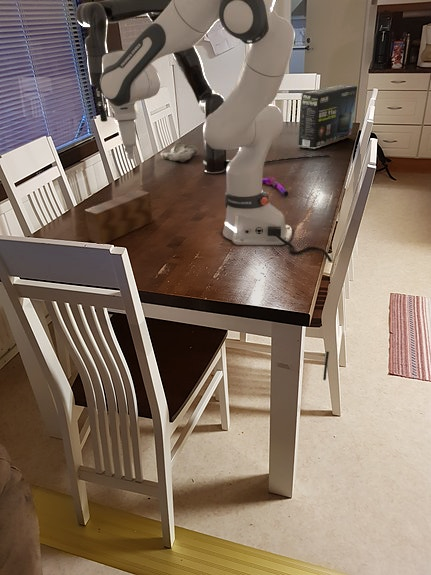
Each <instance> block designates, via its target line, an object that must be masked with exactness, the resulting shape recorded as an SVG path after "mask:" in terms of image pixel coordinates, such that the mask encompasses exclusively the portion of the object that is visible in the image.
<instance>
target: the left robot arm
mask: <svg viewBox="0 0 431 575" xmlns="http://www.w3.org/2000/svg"><path fill="white" fill-rule="evenodd" d="M171 1H172V0H102V1H90V2H83V3H81V4H79V5H78V6H77V8H76V10H75V18H76V21H77V22H78V24H80V25H81V26H82V27H84V28H88V29H89V35H88V36H87V37H85V38H84V46H85V52H86V53H85V54H86V58H87V59H86V60H87V69H88V75H89V76H88V77H89V81H90V85H91V86H92V87H96V90H94V100H95V106H96V110H98V111H99V117H100V118H99V119H100V121H101V122H108V118H110V117H109V112H108V105H107V99H106V98H105V97H104V95H103V94H102V91H101V88H100V79H101V75H102V73H103V70H102V59H103V56H104V55H105V54H106V53H108V46H107V33H108V24H117V23H121V22H125V21H129V20H132V19H135V18H137V17H141V16H143V15H147V17H148V18H149V20H150V21H151V24H152V23H153V22H154V21H155V20H156V19H157V18H158V17H159V15H160V14H161V13H162V12H163V11H164V10H165V8H166V7H167V6H168V5H169V3H170V2H171ZM171 55H172V58H173V60H174V61H175V63H176V65H177V67H178V69H179V71H180V73H182V75H183V77H184V79H185V80H186V82H187V83H188V85H189V87H190V89H191V90H192V92H193V95H194V97H195V100H196V103H197V104H198V106H199V109H200V110H201V112H202V113H204V119H205V120H206V118H207V116H208V115H210V114H211V113H213V112H214V111H215V110H217V109H218V108H219V107H220V106H221V105H222V103H223V102H224V101H225V98H224V97H223V96H222V95H221V94H219V93H217V92H215V91H214V90H213V89H212V87H211V85H210V83H209V82H208V80H207V78H206V76H205V72H204V66H203V62H202V59H201V56H200V55H199V53H198V51H197V49H196V47H195V45H194V46H192V47H191V48H189V49H186V50H183V51H179V52H175V53H172V54H171ZM205 120H204V121H205ZM202 142H203V159H202V163H203V165H204V173H206V174H211V175H217V174H222V173H224V172H226V168H227V165H228V163H229V162H230V161H231V160H232V159H227V150H218V149H213V148H211V147H210V146H209V145H208V144H207V142H206V140H205V138H204V134H203V133H202ZM323 155H324V156H320V155H311V156H312V157H307V156H297V157H298V158H294V157H286V158H287V159H284V158H278V159H279V160H276V159H271V160H272V161H270V160H265V161H266V162H264V164H270V163H274V162H282V161H292V160H304V159H316V158H317V159H318V158H328V157H331V154H323ZM329 155H330V156H329Z"/></svg>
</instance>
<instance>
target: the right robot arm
mask: <svg viewBox="0 0 431 575" xmlns="http://www.w3.org/2000/svg"><path fill="white" fill-rule="evenodd" d="M276 3H277V0H172V1H171V2H170V3H169V5H168V6H167V7H166V8H165V10H164V11H163V12H162V13H161V14H160V15H159V17H158V18H157V19H156V20H155V21H154V22H153V23H152V22H151V24H150V25H148V26H147V27H146V28H145V30H144V31H142V33H141V34H140V35H138V37H137V38H136V39H135V40H134V41H133V42H132V44H131V45H130V46H129V47H128V48H127V49H116V50H111V51H107V53H106V54H105V55H104V56H103V59H102V70H103V73H102V75H101V79H100V88H101V91H102V94H103V95H104V97H105V98H106V99H107V105H108V112H109V117H108V118H112V119H113V122H114V123H115V124H117V130H118V131H117V132H118V135H119V137H120V140H121V142H122V145H123V147H124V152H125V153H126V157H127V159H128V160H134V157H135V156H134V147H135V146H136V145H137V130H136V129H137V128H136V120H137V119H138V117H137V116H138V115H139V111H138V103H137V102H139V101H140V102H141V101H142V100H147V99H151V98H153V97H155V96H156V95H158V93H159V91H160V88H161V78H160V74H159V72H158V70H157V68H156V67H155V66H154V65H153V63H154V62H156V60H159V59H160V58H163V57H165V56H168V55H172V53H175V52H179V51H183V50H186V49H189V48H191V47H192V46H194V47H195V45H196V44H198V43H199V42H201V41H202V40H203V38H204V37H205V36H206V35H207V34H208V32H209V31H210V30H211V29H212V28H213V26H214V25H215V24H216V23H217V22H218V21H220V24H221V27H222V28H223V29H224V30H225V31H226V33H227V34H229V35H230V36H231V37H233V38H235V39H238V40H240V41H241V42H242V43H243V44H246V45H248V46H247V48H246V53H245V56H244V59H243V62H242V66H241V69H240V72H239V74H238V77H237V80H236V83H235V85H234V87H233V88H232V90H231V92H230V93H229V94H228V96H227V97H226V99H224V102H223V103H222V105H221V106H220V107H219V108H218V109H217V110H215V111H214V112H213V113H211V114H210V115H208V116H207V118H206V120H204V122H203V125H202V135H203V134H204V138H205V140H206V142H207V144H208V145H209V146H210V147H211V148H213V149H218V150H226V151H230V150H235V149H238V150H237V152H236V154H235V155H234V157H233V158H232V159H230V160H231V161H230V162H229V163H228V165H227V168H226V170H225V177H226V178H225V179H226V180H225V183H226V190H225V194H224V205H225V209H226V210H225V218H224V219H225V220H224V226H223V229H222V235H223V237H225V239H228V240H230V241H232V243H233V244H234V245H236V246H283V245H286V246H288V247H290V250H289V251H290V253H291V254H293V255H300V254H302V253H304V252H305V251H308V250H315V251H320V252H322V253H323V254H324V256H325V257H326V259H327V260H328V262H330V263H333V260H332V258H331V256H330V255H329V253H328V252H327V250H325V249H324V248H322V247H319V246H312V245H311V246H306V247H303V248H302V249H300V250H295V247H294V245H293V244H292V243H290V240H291V239H292V237H293V228H292V227H291V225H288V224H286V219H285V215H284V213H283V212H282V211H280V210H279V209H278V208H277V207H276V206H275V205H272V204H271V203H270V202H269V194H270V192H269V191H267V192H266V191H265V190H263V183H262V179H263V178H264V177H263V176H264V167H265V163H264V162H265V161H266V159H267V156H268V153H269V152H270V149H271V147H272V145H273V143H274V142H275V140H276V139H277V138H278V137H280V135H281V134H282V132H283V129H284V122H285V121H284V116H283V113H282V111H281V109H280V108H279V107H278V106H277V105H274V104H272V103H273V102H274V100H275V99H276V97H277V96H278V93H279V90H280V87H281V85H282V83H283V80H284V77H285V75H286V72H287V69H288V67H289V63H290V60H291V57H292V53H293V48H294V44H295V43H294V42H295V38H296V33H295V29H294V26H293V25H292V23H291V22H290V21H288V19H286V18H285V17H282V16H279V15H278V14H277V12H276V10H275V9H274V7H275V5H276ZM329 355H330V351H327V350H326V351H325V361H324V368H323V378H322V380H323V381H326V380H327V371H328V362H329Z"/></svg>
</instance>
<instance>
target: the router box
mask: <svg viewBox="0 0 431 575" xmlns="http://www.w3.org/2000/svg"><path fill="white" fill-rule="evenodd" d="M357 93H358V86H356V85H350V84H339V85H338V84H337V85H334V86H328V87H324V88H318V89H314V90H309V91H304V92H301V93H300V109H299V110H300V111H299V124H298V137H297V146H298V145H302V146H307V147H317V146H320V145H323V144H325V143H328V142H331V141H333V140H336V139H338V138H341V137H344V136H347V135H351V136H352V133H353V132H352V131H353V125H354V115H355V109H356V99H357ZM311 151H313V150H312V149H311Z"/></svg>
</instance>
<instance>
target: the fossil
mask: <svg viewBox="0 0 431 575" xmlns="http://www.w3.org/2000/svg"><path fill="white" fill-rule="evenodd" d="M198 153H199V150H198V148H197V146H195V145H188V146H187V145H186V143H184V142H183V143H181V142H176V143H175V145H174V146H173V147H172V148H171V149H170V150H168V149H165V150H162V151H161V152H160V156H161V158H162V159H163V160H169V161H174V162H177V161H179V162H180V163H185V162H187V161H188V160H190V159H191V158H192V157H193V156H194V155H197V154H198Z"/></svg>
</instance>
